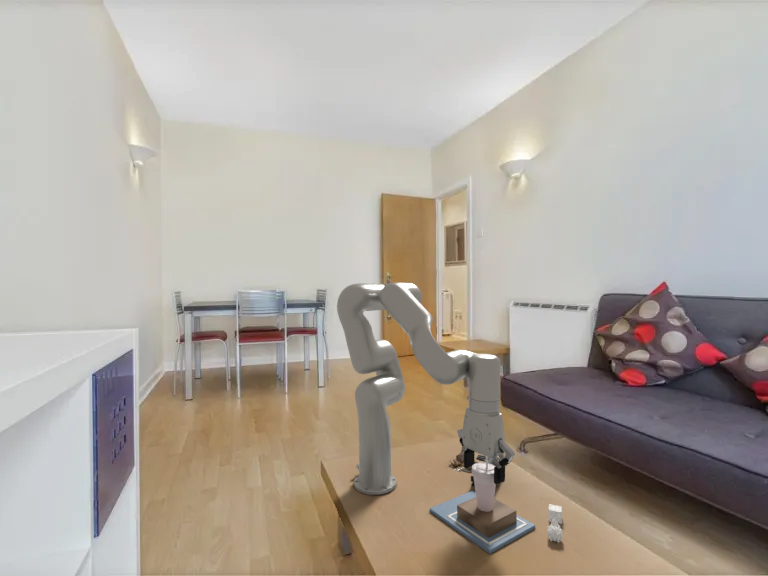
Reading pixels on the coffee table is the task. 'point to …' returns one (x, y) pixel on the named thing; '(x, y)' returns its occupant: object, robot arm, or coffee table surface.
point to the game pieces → (555, 523)
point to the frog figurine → (460, 462)
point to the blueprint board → (491, 544)
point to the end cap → (483, 458)
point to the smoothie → (484, 485)
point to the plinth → (487, 517)
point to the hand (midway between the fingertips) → (483, 474)
